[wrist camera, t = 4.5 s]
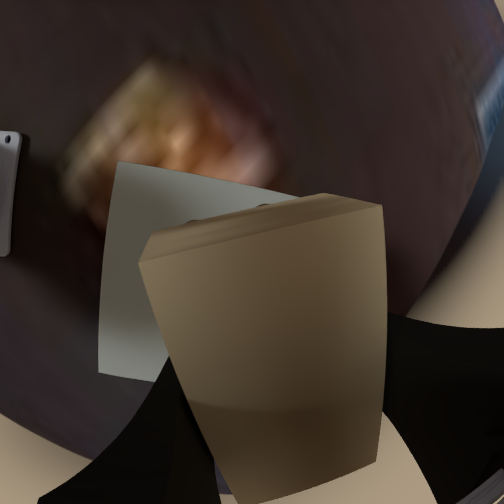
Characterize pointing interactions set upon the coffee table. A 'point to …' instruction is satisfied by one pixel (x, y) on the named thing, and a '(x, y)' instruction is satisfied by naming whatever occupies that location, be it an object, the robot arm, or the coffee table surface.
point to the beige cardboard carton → (277, 337)
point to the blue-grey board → (133, 244)
